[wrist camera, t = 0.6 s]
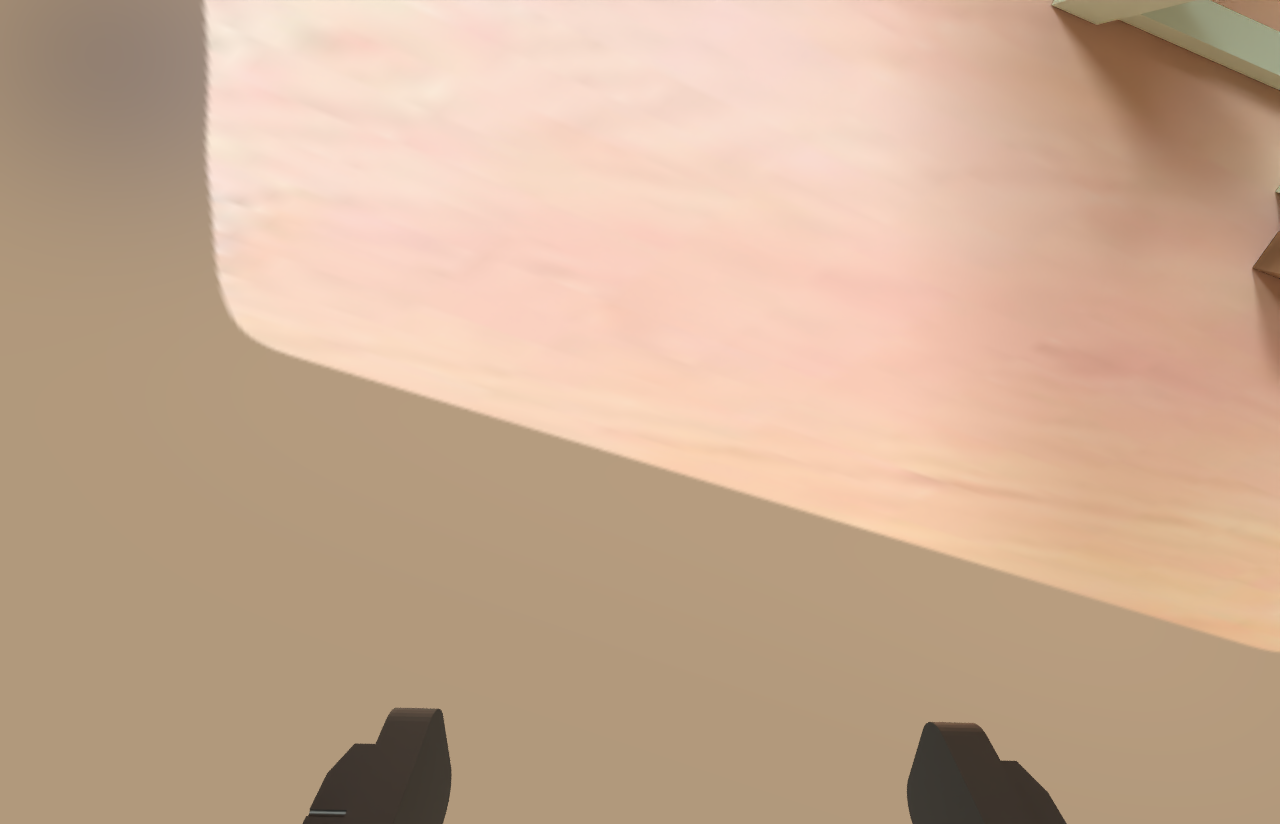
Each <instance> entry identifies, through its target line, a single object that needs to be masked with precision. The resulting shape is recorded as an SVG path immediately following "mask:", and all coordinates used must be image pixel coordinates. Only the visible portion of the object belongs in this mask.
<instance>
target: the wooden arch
mask: <svg viewBox="0 0 1280 824" xmlns="http://www.w3.org/2000/svg"><path fill="white" fill-rule="evenodd" d="M1253 268H1254V269H1256V270H1259V271H1261V272H1264V273H1266V274H1269V275H1272V276H1274V277H1277V278H1279V279H1280V231H1279V232H1278V233H1277V235H1276V236H1275V238H1274V239H1273V240H1272V242H1271V243H1270V244H1269V246H1268V247H1267V249H1266V250H1265V251H1264V253H1263V254H1262V256H1261V257H1260V258H1259V260H1258V261H1257V263H1256V264H1255V265H1254V267H1253Z"/></svg>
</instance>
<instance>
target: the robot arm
mask: <svg viewBox="0 0 1280 824" xmlns="http://www.w3.org/2000/svg"><path fill="white" fill-rule="evenodd" d="M450 788H451V765H450V758H449V752H448V744H447V738H446V732H445V725H444V720H443V713H442V711H441V710H440V709H424V708H394V709H393V710H392V711H391V712H390V714H389V715H388V717H387V719H386V721H385V724H384V726H383V728H382V730H381V733H380V735H379V737H378V740H377V742H376V744H354V745H353V746H352V747H351V748H350V749H349V751H348V752H347V753H346V754H345V755H344V756H343V757H342V758H341V759H340V760H339V761H338V762H337V764H336V765H335V766H334V767H333V768H332V769H331V770H330V771H329V772H328V773H327V775H326V777H325V779H324V781H323V783H322V785H321V787H320V789H319V791H318V793H317V795H316V797H315V799H314V801H313V804H312V806H311V808H310V813H309V815H308V816H306V818H305V820H304V822H303V824H443V821H444V818H445V814H446V810H447V806H448V802H449V796H450ZM907 799H908V807H909V812H910V816H911V820H912V823H913V824H1066V822H1065V820H1064V819H1063V817H1062V815H1061V814H1060V812H1059V810H1058V809H1057V807H1056V805H1055V804H1054V802H1053V800H1052V799H1051V797H1050V796H1049V794H1048V792H1047V791H1046V790H1045V789H1044V788H1043V787H1042V786H1041V785H1040V784H1039V783H1038V782H1037V781H1036V780H1035V779H1034V778H1033V777H1032V776H1031V775H1030V774H1029V773H1028V772H1027V771H1026V770H1025V769H1024V768H1023V767H1022V766H1021V765H1020V764H1019V763H1018V762H1017V761H1000V759H999V757H998V755H997V753H996V752H995V750H994V748H993V746H992V745H991V743H990V741H989V739H988V737H987V736H986V734H985V732H984V731H983V730H982V728H981V727H979V726H978V725H977V724H974V723H946V722H928V723H927V724H926V725H925V726H924V729H923V732H922V735H921V738H920V742H919V745H918V749H917V752H916V755H915V759H914V762H913V765H912V768H911V772H910V775H909V779H908V784H907Z"/></svg>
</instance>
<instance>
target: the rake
mask: <svg viewBox="0 0 1280 824" xmlns="http://www.w3.org/2000/svg"><path fill="white" fill-rule="evenodd" d="M1052 6H1054V7H1057V8H1059V9H1061V10H1064V11H1066V12H1068V13H1071V14H1073V15H1075V16H1077V17H1080V18H1082V19H1084V20H1087V21H1089V22H1091V23H1093V24H1096V25H1098V24H1102V23H1106V22H1110V21H1115V20H1121V21H1123V22H1125V23H1127V24H1130V25H1132V26H1134V27H1137V28H1139V29H1141V30H1143V31H1146V32H1148V33H1150V34H1152V35H1155V36H1157V37H1159V38H1162V39H1164V40H1166V41H1168V42H1171V43H1173V44H1175V45H1177V46H1180V47H1182V48H1184V49H1187V50H1189V51H1191V52H1193V53H1196V54H1198V55H1200V56H1203V57H1205V58H1207V59H1209V60H1212V61H1214V62H1216V63H1218V64H1221V65H1223V66H1225V67H1228V68H1230V69H1232V70H1234V71H1237V72H1239V73H1241V74H1243V75H1246V76H1248V77H1250V78H1253V79H1255V80H1257V81H1259V82H1262V83H1264V84H1266V85H1268V86H1271V87H1273V88H1275V89H1278V90H1280V32H1279V31H1277V30H1274V29H1272V28H1270V27H1268V26H1266V25H1263V24H1261V23H1259V22H1257V21H1255V20H1252V19H1250V18H1248V17H1246V16H1244V15H1241V14H1239V13H1237V12H1235V11H1233V10H1230V9H1228V8H1226V7H1224V6H1222V5H1219V4H1217V3H1215V2H1213V1H1210V0H1054V1H1053V3H1052ZM1276 192H1277V193H1279V194H1280V186H1279V188H1278V189H1277V190H1276Z"/></svg>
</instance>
